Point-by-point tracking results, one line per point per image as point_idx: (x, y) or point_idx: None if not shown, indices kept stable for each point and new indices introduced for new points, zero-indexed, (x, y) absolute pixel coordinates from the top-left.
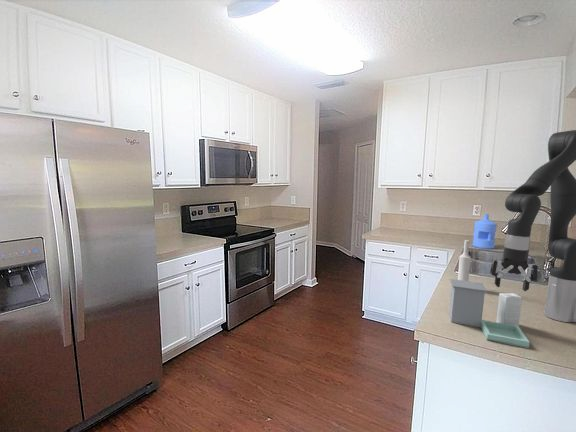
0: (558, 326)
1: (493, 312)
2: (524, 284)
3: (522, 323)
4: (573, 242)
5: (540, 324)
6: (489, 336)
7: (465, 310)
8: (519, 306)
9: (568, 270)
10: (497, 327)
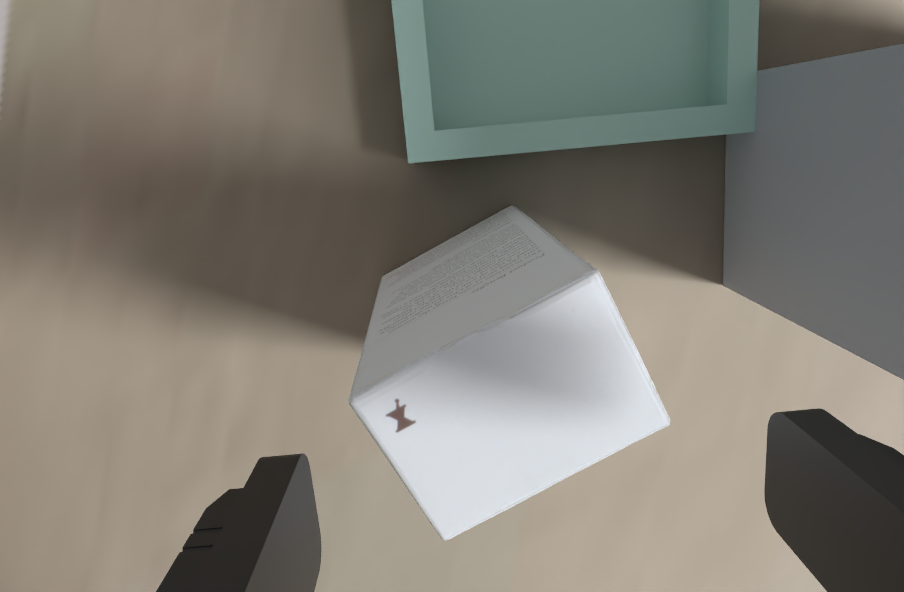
0: (50, 486)
1: (541, 518)
2: (280, 577)
3: (333, 391)
4: None
5: (187, 451)
6: None
7: None
8: (381, 335)
9: None
10: (585, 116)
